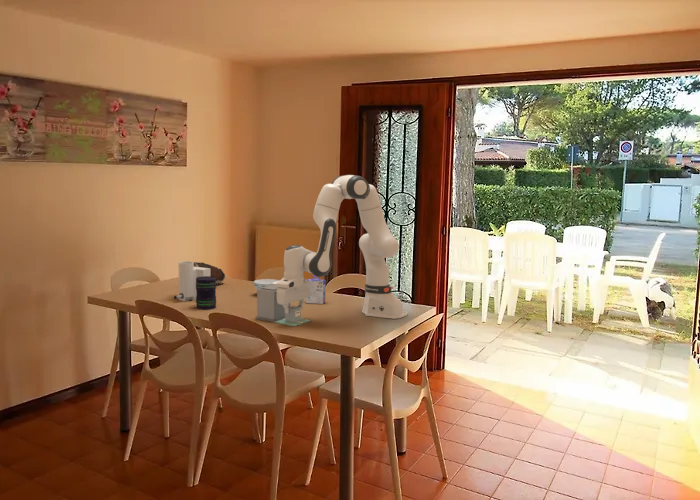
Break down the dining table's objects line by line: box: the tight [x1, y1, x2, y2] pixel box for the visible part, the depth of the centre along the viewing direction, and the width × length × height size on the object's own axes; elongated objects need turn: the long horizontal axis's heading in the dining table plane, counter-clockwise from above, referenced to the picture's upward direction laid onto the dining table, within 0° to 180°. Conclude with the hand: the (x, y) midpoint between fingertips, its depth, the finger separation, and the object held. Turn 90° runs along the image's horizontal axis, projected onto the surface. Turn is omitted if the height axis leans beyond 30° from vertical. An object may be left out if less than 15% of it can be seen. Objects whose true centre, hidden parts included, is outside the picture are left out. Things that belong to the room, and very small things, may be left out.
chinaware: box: [253, 278, 281, 291], centre depth 330 cm, size 15×15×8 cm
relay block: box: [285, 305, 302, 322], centre depth 272 cm, size 5×5×6 cm
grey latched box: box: [255, 285, 291, 323], centre depth 278 cm, size 11×13×15 cm
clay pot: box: [193, 261, 226, 285], centre depth 353 cm, size 15×15×25 cm
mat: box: [274, 317, 311, 327], centre depth 272 cm, size 11×12×1 cm
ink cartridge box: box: [304, 274, 327, 305], centre depth 313 cm, size 10×6×14 cm, turn 78°
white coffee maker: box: [173, 260, 210, 302], centre depth 313 cm, size 16×19×20 cm
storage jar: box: [195, 276, 217, 311], centre depth 296 cm, size 10×10×15 cm
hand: (293, 310), depth 272 cm, fingers open, 8 cm apart
